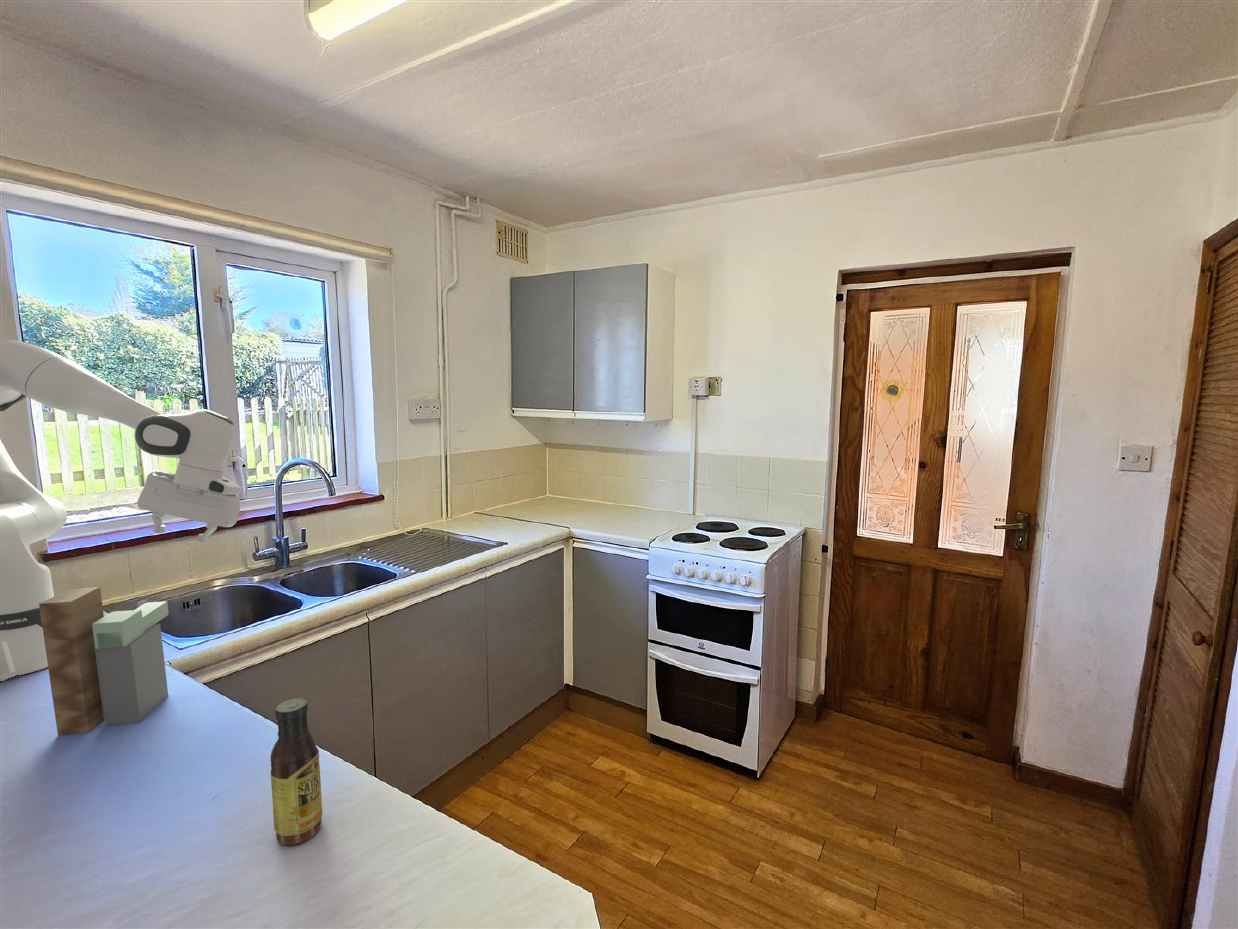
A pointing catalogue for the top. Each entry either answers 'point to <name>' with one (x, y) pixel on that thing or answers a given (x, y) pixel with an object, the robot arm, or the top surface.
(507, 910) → the top surface
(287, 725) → the sauce bottle
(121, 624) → the green handle
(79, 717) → the walnut stand
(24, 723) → the top surface
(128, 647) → the gray block
